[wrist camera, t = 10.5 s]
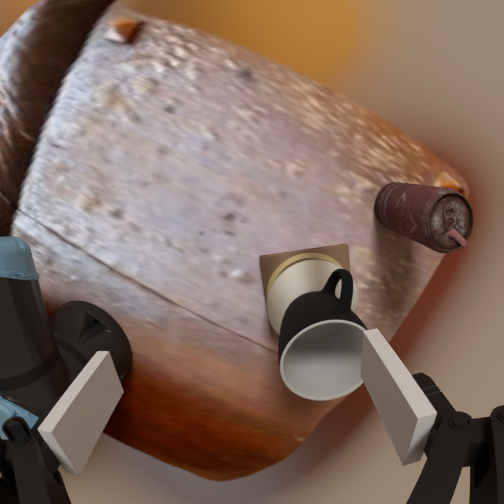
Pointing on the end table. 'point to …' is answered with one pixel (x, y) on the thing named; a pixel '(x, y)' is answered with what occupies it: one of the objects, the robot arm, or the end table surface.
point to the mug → (322, 342)
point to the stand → (300, 277)
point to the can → (426, 215)
